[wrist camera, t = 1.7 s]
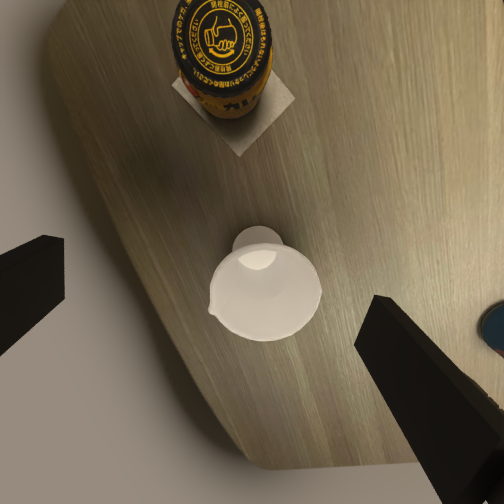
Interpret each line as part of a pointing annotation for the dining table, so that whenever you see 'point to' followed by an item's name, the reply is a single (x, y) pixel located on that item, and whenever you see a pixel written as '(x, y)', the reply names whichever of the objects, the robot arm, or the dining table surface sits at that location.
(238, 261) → the cup
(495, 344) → the soda can
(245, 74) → the condiment
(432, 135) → the dining table surface
